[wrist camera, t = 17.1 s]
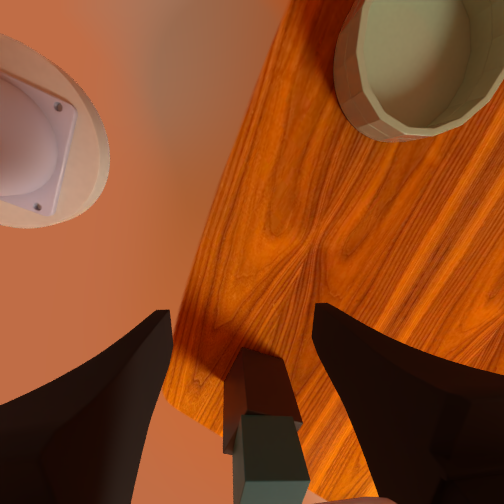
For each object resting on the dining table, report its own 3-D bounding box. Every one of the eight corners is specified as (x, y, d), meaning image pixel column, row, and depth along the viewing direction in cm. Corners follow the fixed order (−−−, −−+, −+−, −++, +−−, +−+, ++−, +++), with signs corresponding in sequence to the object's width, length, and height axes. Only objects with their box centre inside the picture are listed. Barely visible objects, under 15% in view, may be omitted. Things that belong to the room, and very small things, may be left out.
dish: (307, 101, 18) (325, 85, 15) (385, -70, 15) (428, -137, 12) (414, 165, 21) (450, 162, 17) (497, 25, 18) (559, -9, 15)
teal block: (232, 452, 19) (233, 524, 15) (240, 413, 18) (244, 481, 14) (281, 452, 20) (295, 522, 16) (292, 415, 19) (311, 481, 15)
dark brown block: (223, 382, 26) (222, 453, 19) (241, 346, 25) (247, 409, 18) (264, 392, 27) (276, 464, 20) (283, 359, 26) (303, 423, 19)
